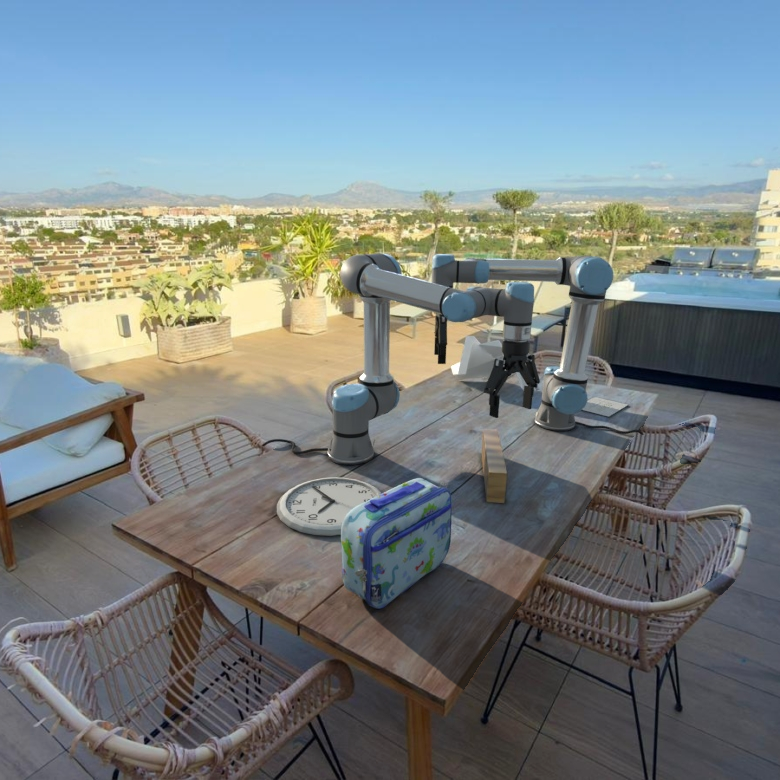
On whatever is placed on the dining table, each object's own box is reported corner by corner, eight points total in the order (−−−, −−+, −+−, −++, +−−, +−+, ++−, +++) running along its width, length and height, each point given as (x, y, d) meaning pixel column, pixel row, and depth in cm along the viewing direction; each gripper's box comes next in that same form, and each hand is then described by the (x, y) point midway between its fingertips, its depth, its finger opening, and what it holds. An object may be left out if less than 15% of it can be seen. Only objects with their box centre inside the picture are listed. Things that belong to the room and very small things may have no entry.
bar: (481, 454, 177) (483, 428, 174) (495, 455, 176) (498, 429, 174) (486, 501, 146) (489, 472, 143) (504, 503, 146) (507, 473, 143)
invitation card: (608, 416, 214) (573, 407, 224) (608, 416, 214) (573, 408, 224) (628, 404, 229) (594, 396, 238) (628, 405, 229) (594, 397, 238)
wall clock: (392, 527, 129) (268, 531, 127) (391, 533, 130) (269, 537, 127) (383, 473, 158) (282, 475, 155) (383, 478, 158) (282, 480, 156)
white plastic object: (472, 423, 260) (450, 400, 235) (454, 348, 282) (432, 320, 258) (544, 398, 248) (529, 371, 223) (519, 323, 270) (503, 291, 245)
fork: (423, 514, 139) (423, 507, 138) (438, 487, 153) (439, 481, 152) (432, 516, 138) (433, 509, 137) (447, 489, 152) (448, 483, 152)
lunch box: (370, 622, 101) (370, 527, 94) (335, 595, 108) (333, 505, 102) (455, 565, 118) (460, 481, 112) (420, 544, 125) (423, 465, 119)
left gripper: (493, 347, 134) (488, 424, 141) (556, 337, 148) (549, 407, 154) (473, 342, 140) (469, 416, 147) (536, 332, 154) (530, 401, 160)
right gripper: (428, 295, 194) (426, 351, 201) (434, 304, 170) (432, 367, 177) (448, 295, 194) (446, 351, 201) (457, 305, 170) (454, 367, 177)
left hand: (510, 412), depth 150 cm, fingers open, 13 cm apart
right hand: (439, 359), depth 189 cm, fingers open, 13 cm apart
